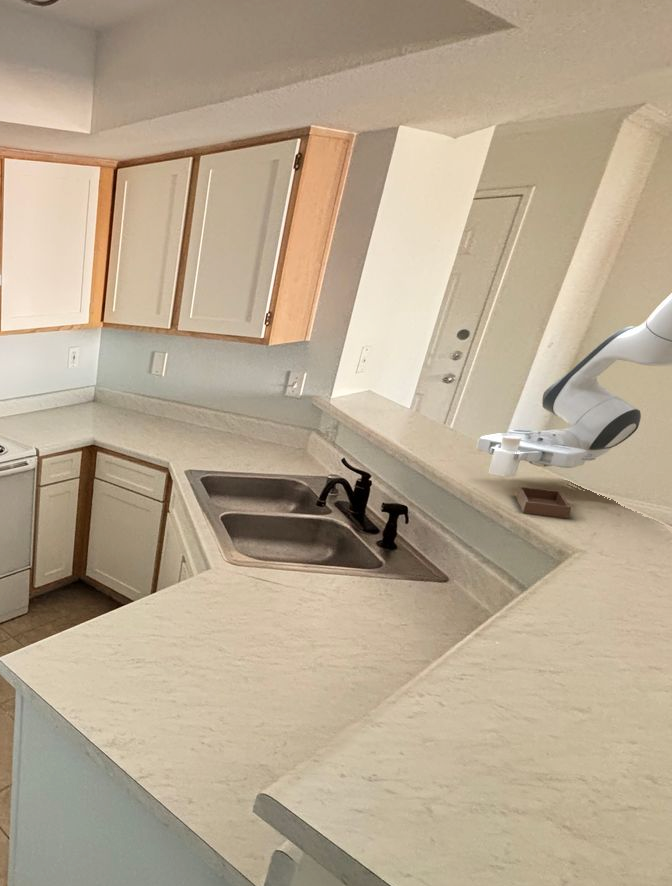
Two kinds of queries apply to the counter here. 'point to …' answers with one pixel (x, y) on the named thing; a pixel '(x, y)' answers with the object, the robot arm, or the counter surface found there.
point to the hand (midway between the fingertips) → (504, 453)
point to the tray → (543, 502)
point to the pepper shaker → (505, 458)
